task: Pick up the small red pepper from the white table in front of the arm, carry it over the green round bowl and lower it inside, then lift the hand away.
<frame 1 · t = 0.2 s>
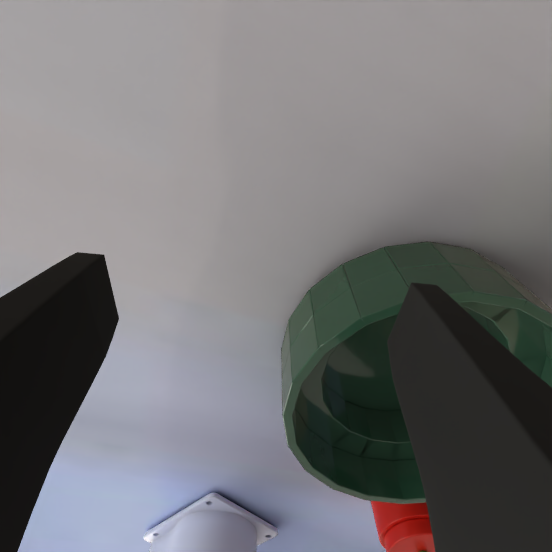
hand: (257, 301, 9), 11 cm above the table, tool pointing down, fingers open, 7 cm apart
green round bowl: (398, 346, 23), on the table
pepper: (398, 475, 29), on the table
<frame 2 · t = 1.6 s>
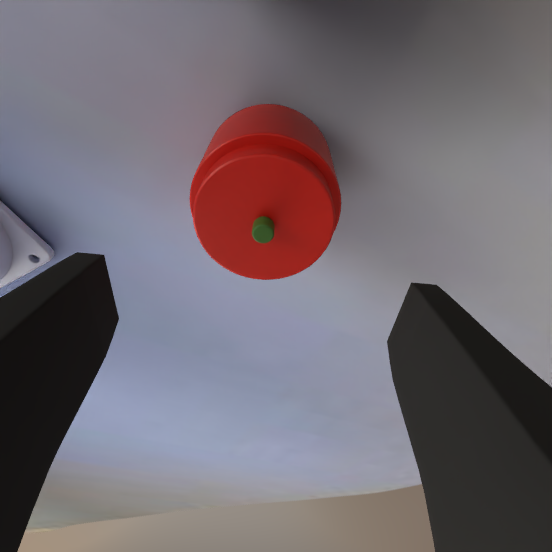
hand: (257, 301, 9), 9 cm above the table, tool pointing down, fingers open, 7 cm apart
pepper: (269, 162, 16), on the table
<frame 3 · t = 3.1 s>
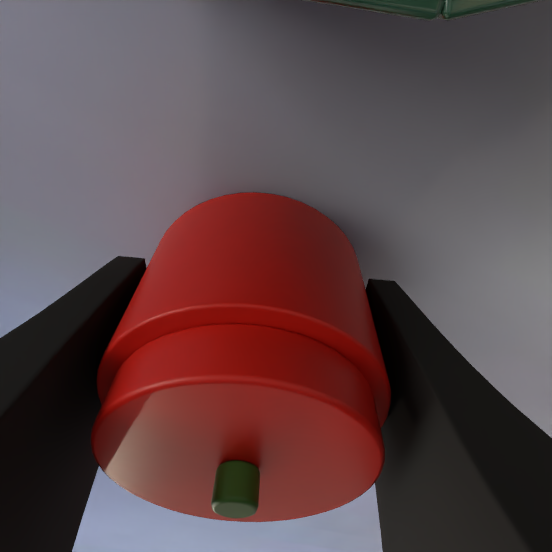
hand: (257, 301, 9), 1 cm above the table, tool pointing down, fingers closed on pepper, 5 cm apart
pepper: (259, 266, 10), on the table, touching gripper
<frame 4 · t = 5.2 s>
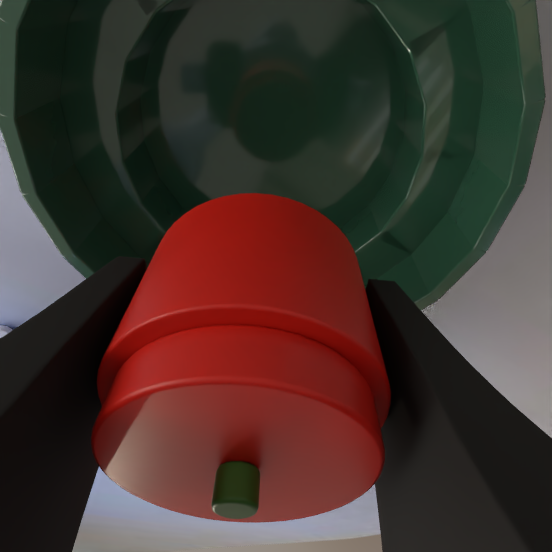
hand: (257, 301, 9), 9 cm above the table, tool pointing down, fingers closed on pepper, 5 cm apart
green round bowl: (272, 132, 15), on the table
pepper: (259, 267, 10), point 7 cm above the table, touching gripper
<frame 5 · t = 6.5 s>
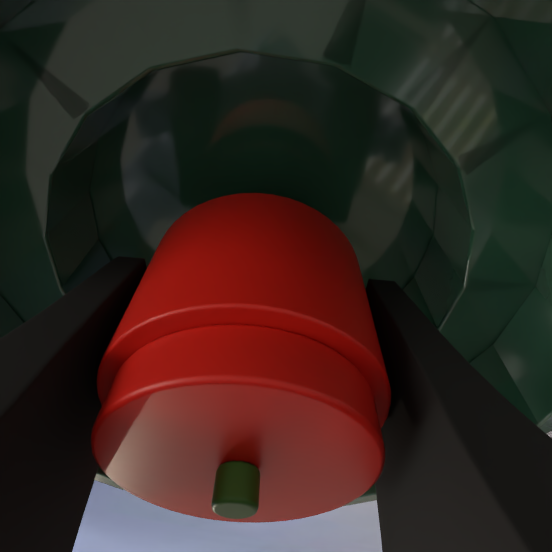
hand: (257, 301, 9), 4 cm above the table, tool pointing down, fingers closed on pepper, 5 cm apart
green round bowl: (264, 227, 12), on the table
pepper: (259, 267, 10), point 2 cm above the table, touching gripper
when the fingers open (2 cm above the table, at t = 7.5 s): pepper stays where it is, resting on green round bowl.
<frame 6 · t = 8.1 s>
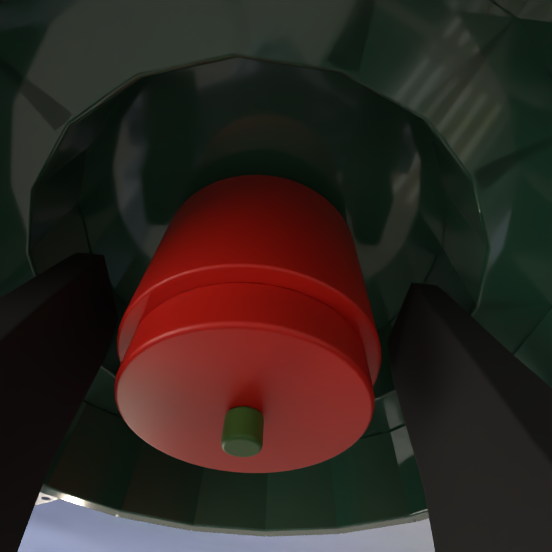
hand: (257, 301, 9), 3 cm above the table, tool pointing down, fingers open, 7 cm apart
green round bowl: (263, 238, 11), on the table
pepper: (261, 247, 11), resting on green round bowl
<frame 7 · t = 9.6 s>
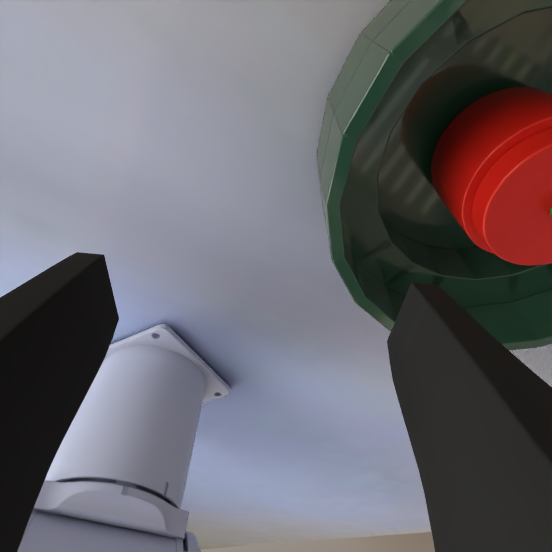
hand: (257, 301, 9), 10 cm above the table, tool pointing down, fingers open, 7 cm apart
green round bowl: (483, 145, 16), on the table
pepper: (487, 149, 16), resting on green round bowl
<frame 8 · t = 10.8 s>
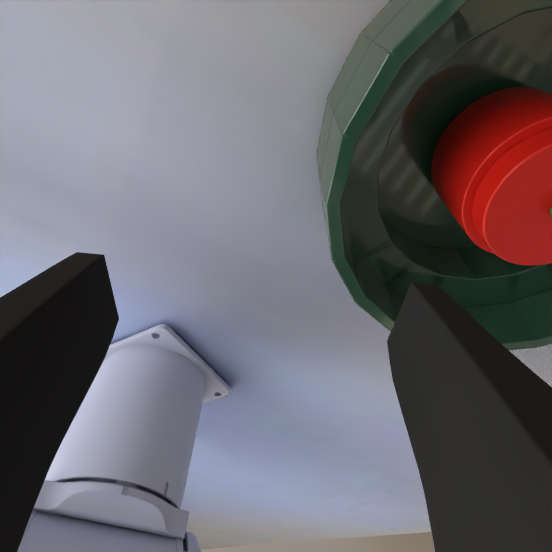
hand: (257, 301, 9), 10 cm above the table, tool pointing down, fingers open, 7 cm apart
green round bowl: (483, 145, 16), on the table
pepper: (487, 149, 16), resting on green round bowl
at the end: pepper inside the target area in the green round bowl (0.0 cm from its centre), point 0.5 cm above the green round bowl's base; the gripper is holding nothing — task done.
